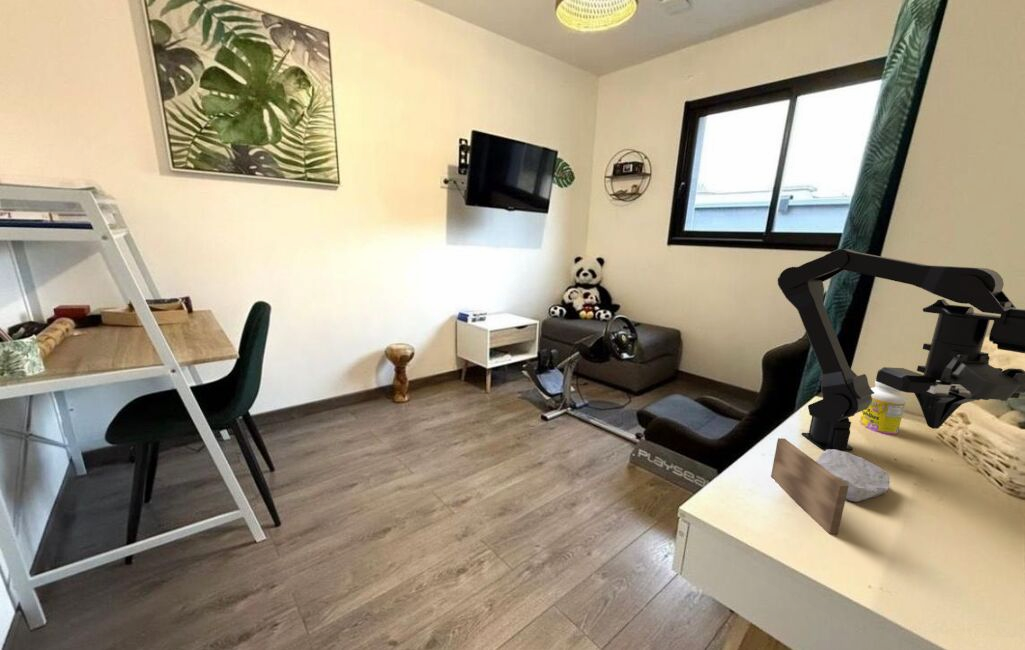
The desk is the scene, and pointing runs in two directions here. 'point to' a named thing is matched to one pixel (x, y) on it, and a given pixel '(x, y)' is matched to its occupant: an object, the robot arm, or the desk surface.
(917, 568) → the desk surface
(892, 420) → the supplement bottle
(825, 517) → the walnut plate
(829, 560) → the desk surface
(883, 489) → the stone block
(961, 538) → the desk surface
